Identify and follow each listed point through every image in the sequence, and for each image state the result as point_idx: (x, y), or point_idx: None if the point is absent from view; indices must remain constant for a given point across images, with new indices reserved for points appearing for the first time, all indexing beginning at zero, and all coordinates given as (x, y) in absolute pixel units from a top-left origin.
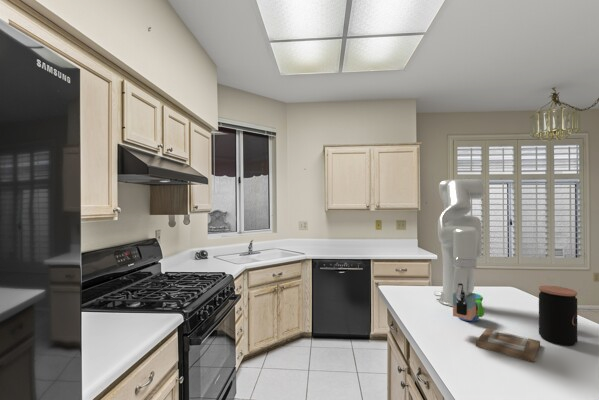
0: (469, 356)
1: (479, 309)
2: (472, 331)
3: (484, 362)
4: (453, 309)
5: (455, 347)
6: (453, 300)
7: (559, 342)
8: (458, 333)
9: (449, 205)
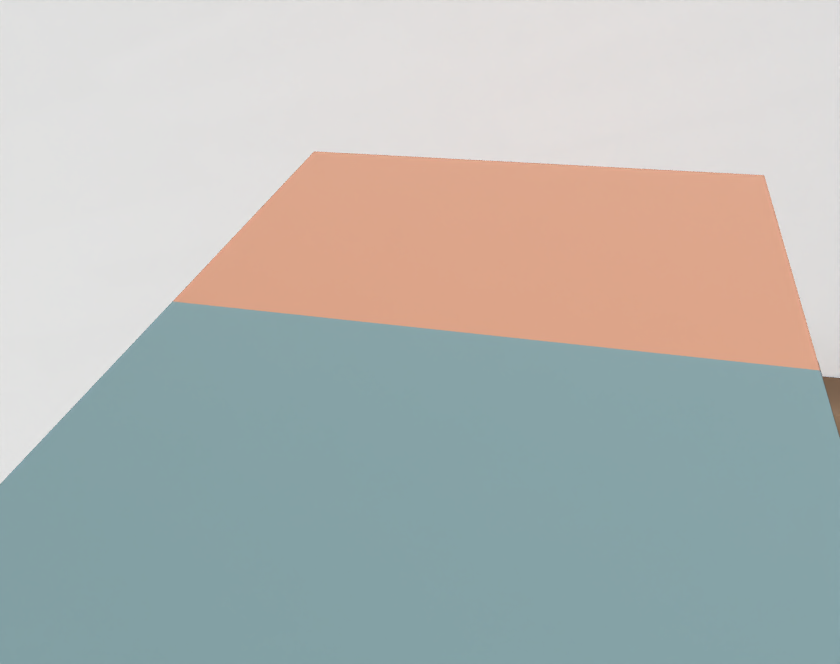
0: (32, 317)
1: None
2: (824, 228)
3: (50, 417)
4: (243, 241)
5: (83, 171)
6: (66, 427)
7: None
8: (578, 76)
9: None
